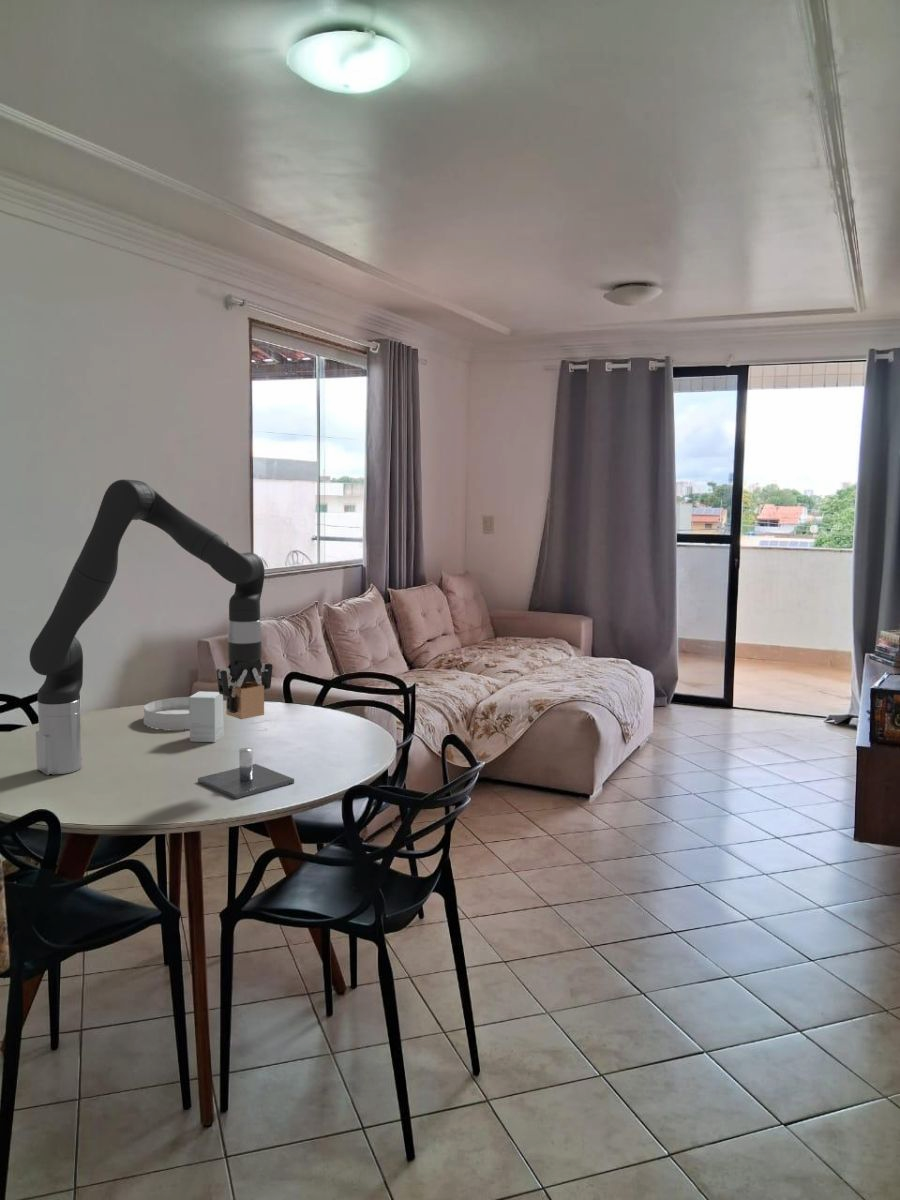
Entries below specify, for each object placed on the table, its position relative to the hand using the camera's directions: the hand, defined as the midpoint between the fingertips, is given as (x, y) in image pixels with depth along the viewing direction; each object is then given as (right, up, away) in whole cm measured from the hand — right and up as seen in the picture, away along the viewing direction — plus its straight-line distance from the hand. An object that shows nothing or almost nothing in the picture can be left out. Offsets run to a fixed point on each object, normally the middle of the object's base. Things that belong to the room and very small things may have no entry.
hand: (245, 709), depth 202 cm
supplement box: (-20, -13, +38) cm, 45 cm away
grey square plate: (0, -17, +2) cm, 18 cm away
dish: (-32, -11, +57) cm, 66 cm away
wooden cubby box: (0, -1, 0) cm, 1 cm away
